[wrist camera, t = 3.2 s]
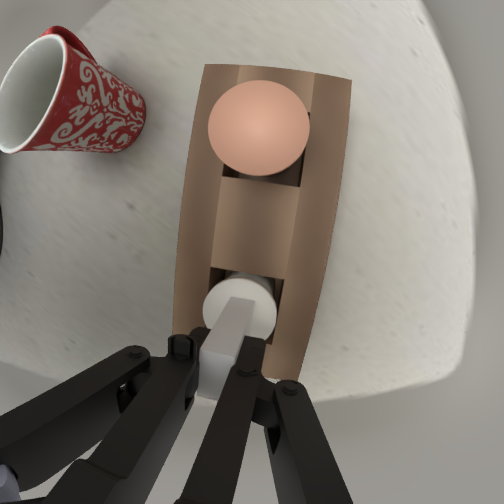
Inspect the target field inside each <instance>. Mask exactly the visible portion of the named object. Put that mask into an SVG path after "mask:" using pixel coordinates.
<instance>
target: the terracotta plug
mask: <svg viewBox="0 0 504 504" xmlns="http://www.w3.org/2000/svg"><path fill="white" fill-rule="evenodd" d="M309 130H310V124H309V117H308V113H307V111H306V108H305V106H304V104H303V103H302V101H301V100H300V99H299V97H298V96H297V95H296V94H295V93H294V92H292V91H291V90H290V89H288V88H287V87H285V86H283V85H281V84H278V83H275V82H271V81H265V80H255V81H248V82H244V83H241V84H239V85H237V86H234V87H233V88H231V89H229V90H228V91H227V92H226V93H224V94H223V95H222V96H221V97H220V98H219V100H218V101H217V102H216V104H215V105H214V107H213V109H212V111H211V114H210V117H209V122H208V135H209V140H210V143H211V146H212V148H213V150H214V152H215V153H216V155H217V156H218V157H219V158H220V159H221V161H223V162H224V163H225V164H226V165H228V166H229V167H231V168H232V169H234V170H236V171H239V172H241V173H244V174H247V175H252V176H272V175H277V174H280V173H282V172H284V171H285V170H287V169H288V168H289V167H290V166H291V165H292V164H293V163H294V162H295V161H296V160H297V159H298V158H299V157H300V155H301V154H302V152H303V150H304V148H305V146H306V143H307V140H308V137H309Z"/></svg>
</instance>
